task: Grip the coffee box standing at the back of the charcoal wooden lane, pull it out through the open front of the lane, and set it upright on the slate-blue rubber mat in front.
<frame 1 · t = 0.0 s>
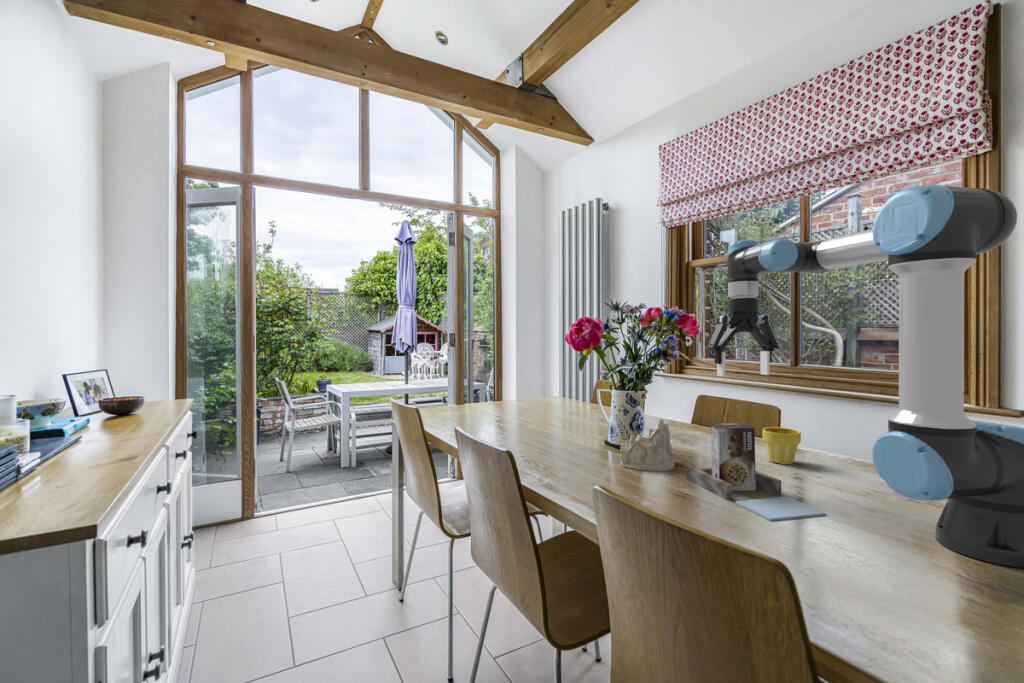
hand: (743, 375, 133), 28 cm above the table, tool pointing down, fingers open, 13 cm apart
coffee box: (732, 488, 124), resting in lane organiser
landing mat: (779, 509, 108), on the table
plant pot: (781, 462, 148), on the table
ceramic cottage: (648, 464, 148), on the table
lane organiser: (732, 487, 124), on the table
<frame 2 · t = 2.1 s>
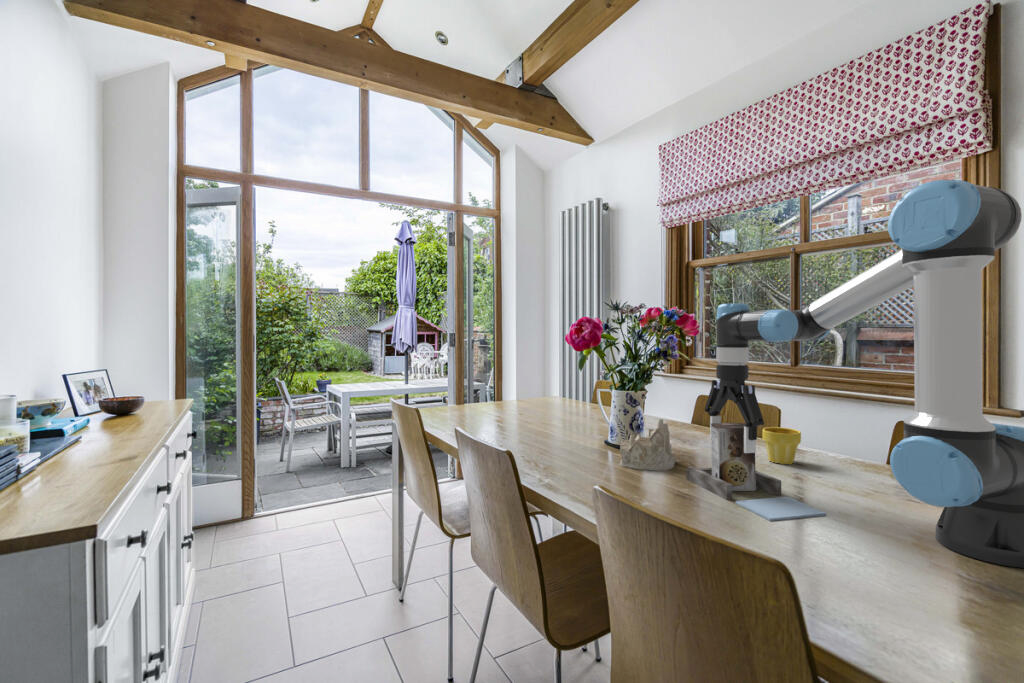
hand: (731, 446, 124), 11 cm above the table, tool pointing down, fingers open, 13 cm apart
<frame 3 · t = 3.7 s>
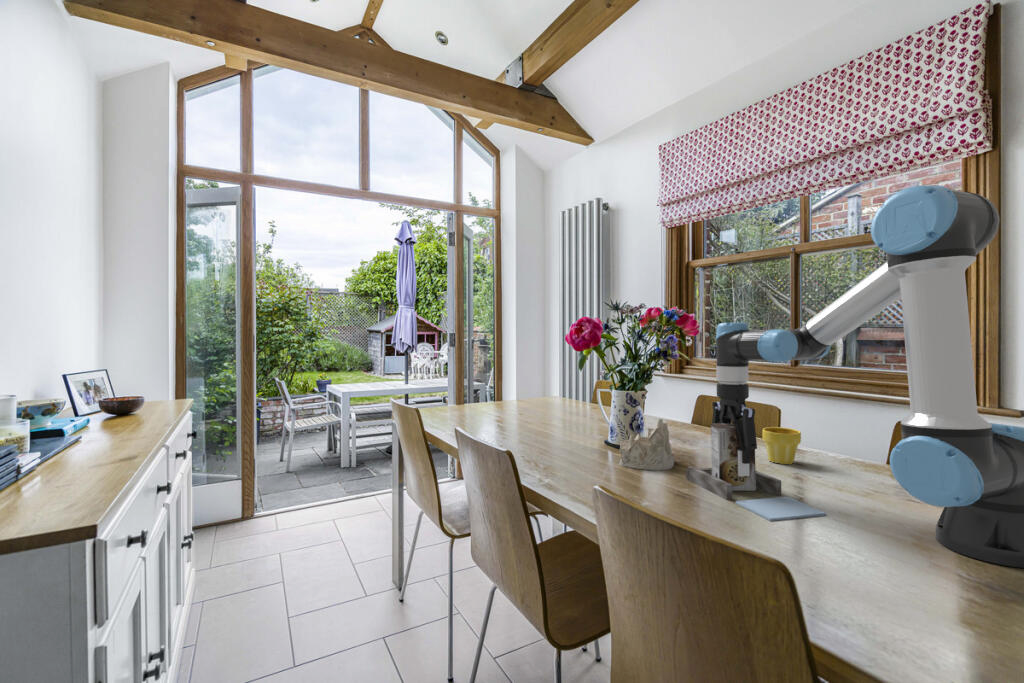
hand: (732, 471, 124), 4 cm above the table, tool pointing down, fingers closed on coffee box, 7 cm apart
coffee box: (732, 487, 124), resting in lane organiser, touching gripper
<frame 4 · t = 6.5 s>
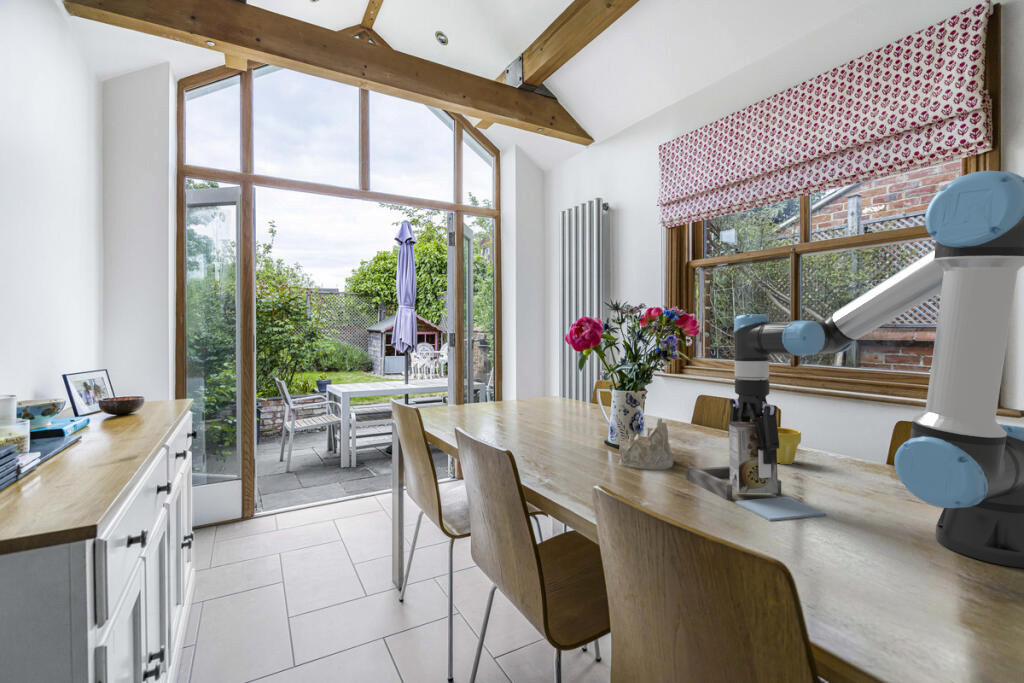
hand: (752, 472, 117), 6 cm above the table, tool pointing down, fingers closed on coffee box, 7 cm apart
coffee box: (752, 490, 117), point 2 cm above the table, touching gripper
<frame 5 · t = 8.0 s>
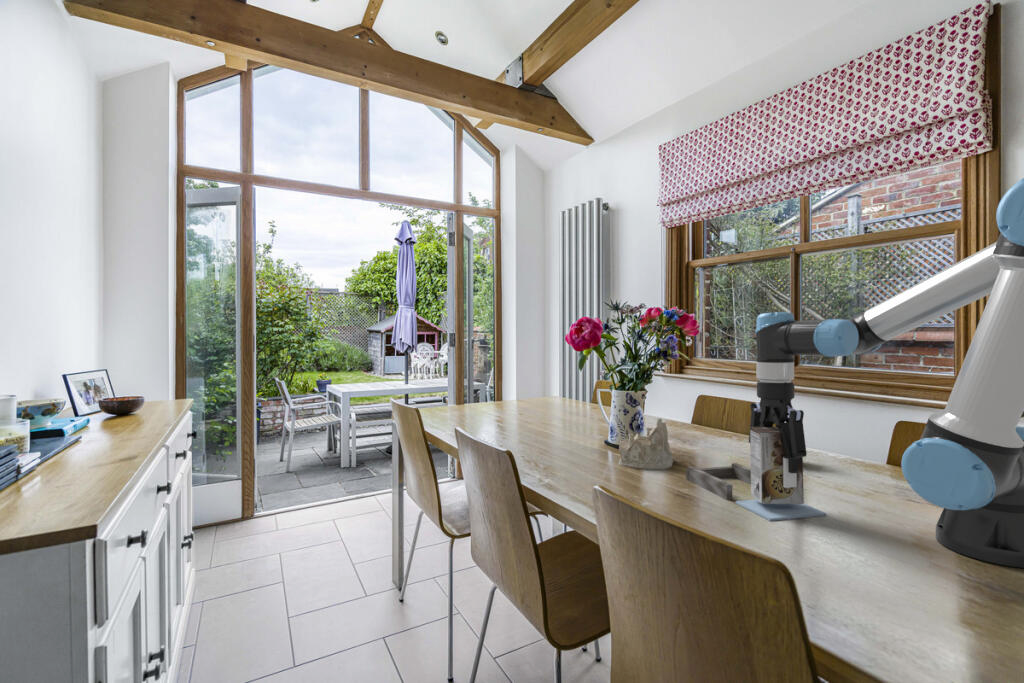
hand: (776, 481, 109), 6 cm above the table, tool pointing down, fingers closed on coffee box, 7 cm apart
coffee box: (776, 500, 109), point 2 cm above the table, touching gripper
when the fingers open (6 cm above the table, at t = 9.3 s): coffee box drops 1 cm, resting on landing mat.
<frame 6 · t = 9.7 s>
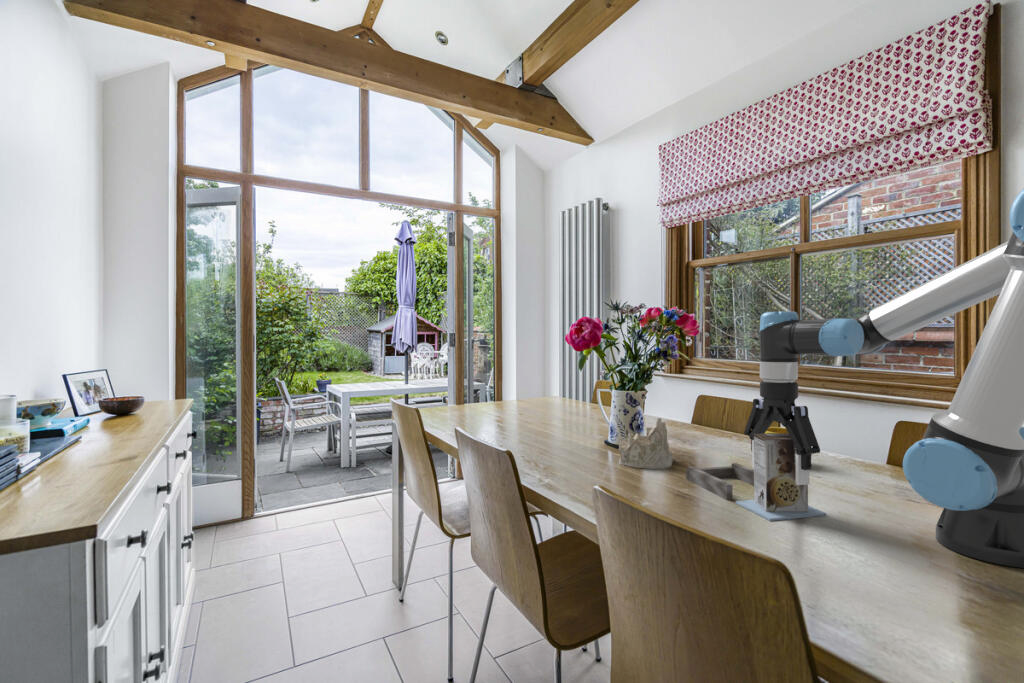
hand: (779, 475, 108), 8 cm above the table, tool pointing down, fingers open, 13 cm apart
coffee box: (780, 508, 108), resting on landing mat
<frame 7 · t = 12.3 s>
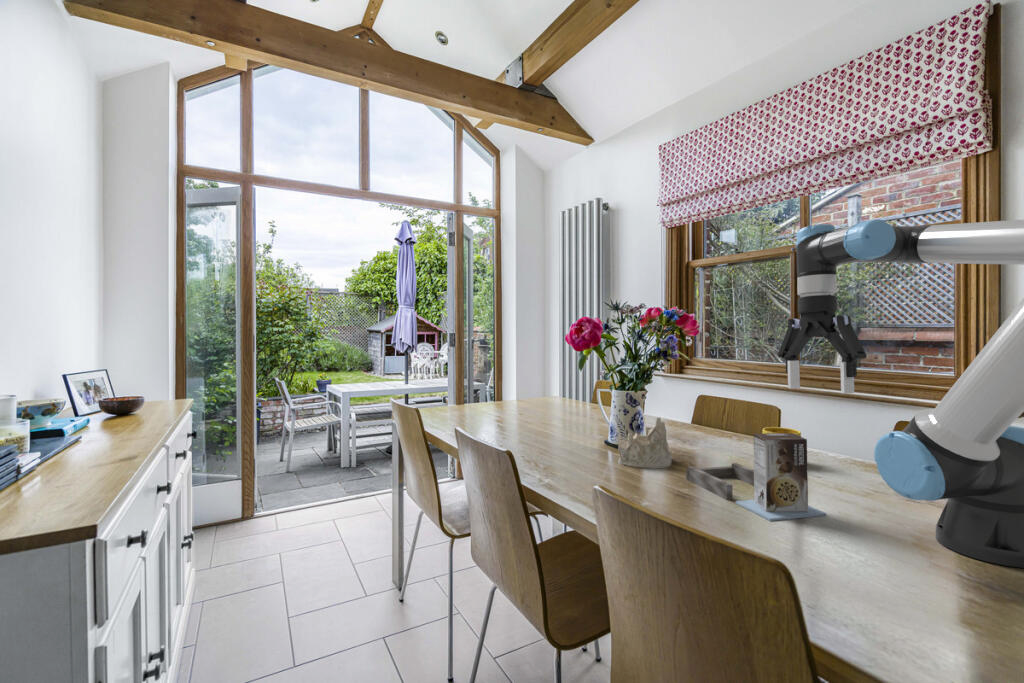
hand: (819, 390, 108), 27 cm above the table, tool pointing down, fingers open, 13 cm apart
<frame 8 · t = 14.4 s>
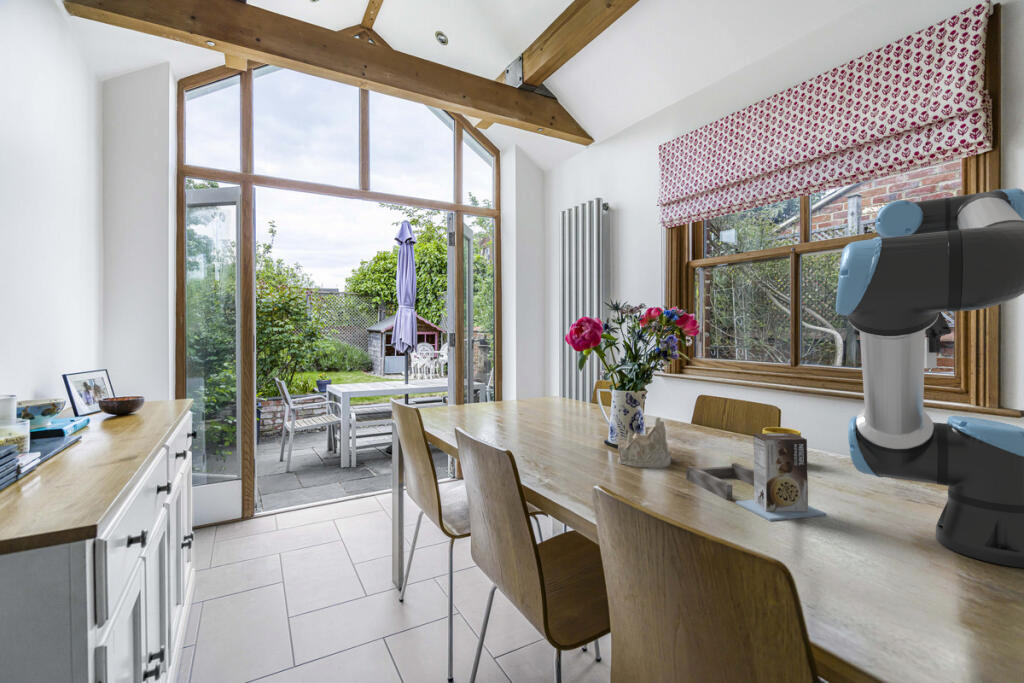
hand: (898, 366, 110), 32 cm above the table, tool pointing down, fingers open, 13 cm apart
at the end: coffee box inside the target area (0.2 cm from its centre), resting on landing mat; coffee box tilted 0°; the gripper is holding nothing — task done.
